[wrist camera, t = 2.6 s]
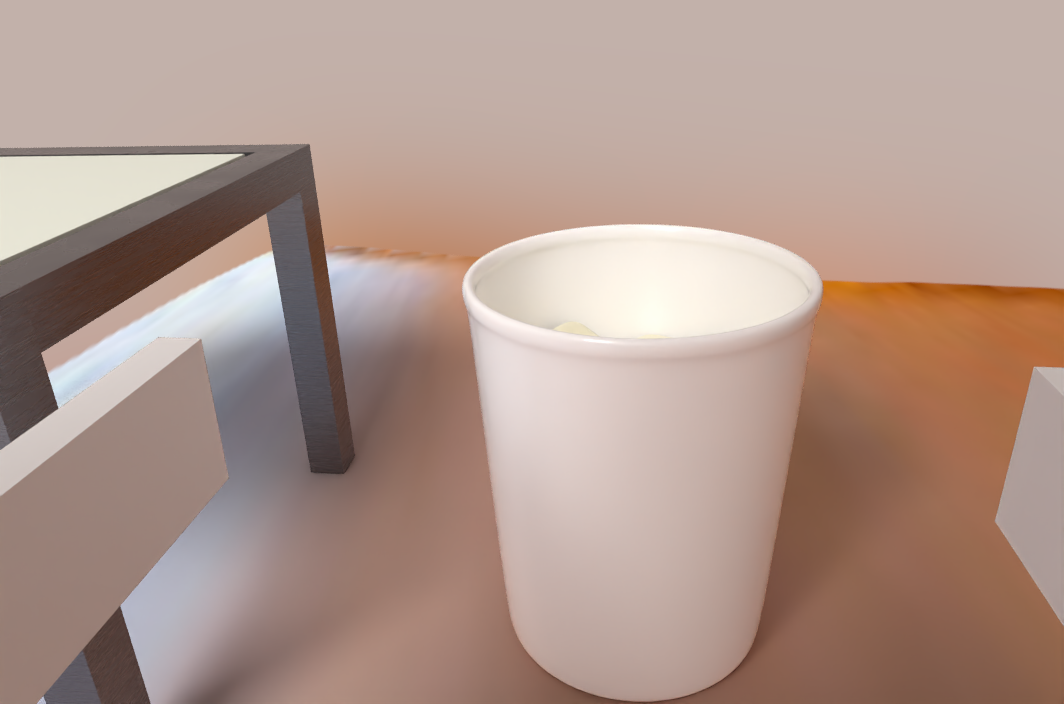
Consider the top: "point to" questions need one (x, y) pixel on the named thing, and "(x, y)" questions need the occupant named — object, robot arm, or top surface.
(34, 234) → the trapdoor
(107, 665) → the stand
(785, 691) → the top surface
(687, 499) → the candle holder
